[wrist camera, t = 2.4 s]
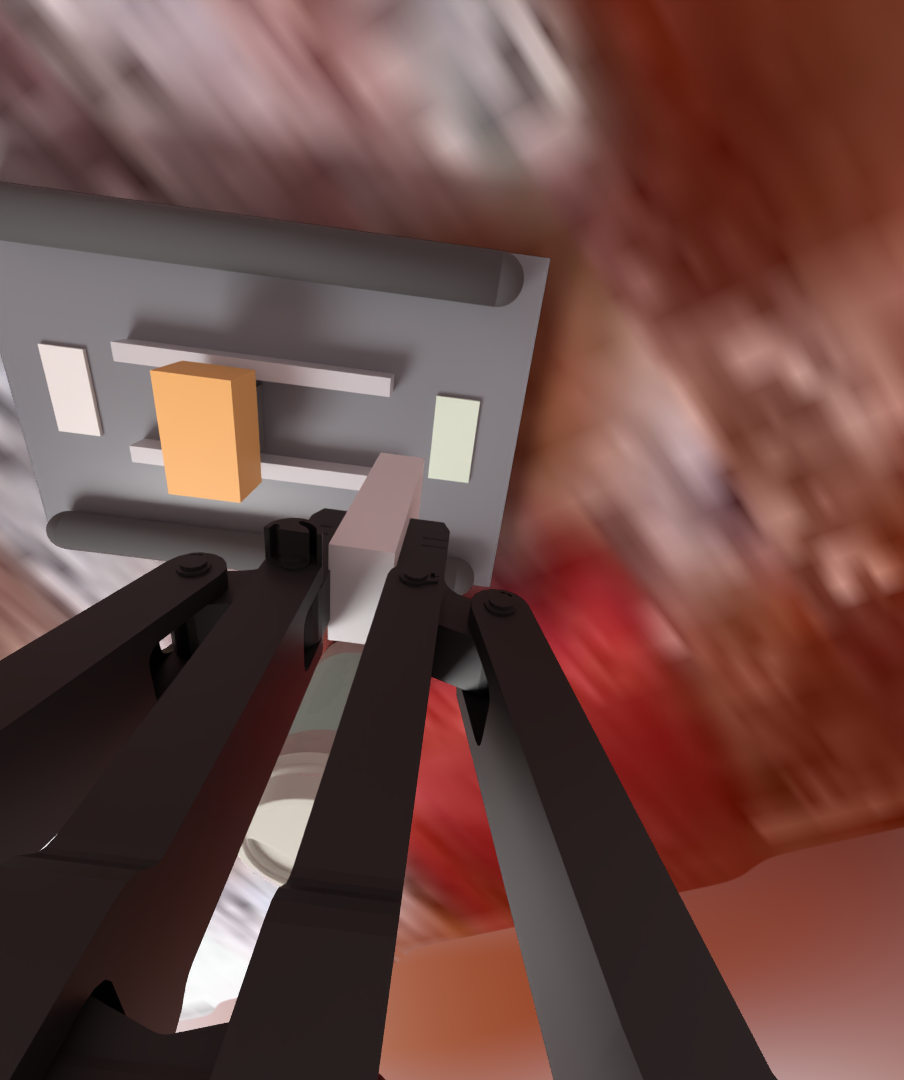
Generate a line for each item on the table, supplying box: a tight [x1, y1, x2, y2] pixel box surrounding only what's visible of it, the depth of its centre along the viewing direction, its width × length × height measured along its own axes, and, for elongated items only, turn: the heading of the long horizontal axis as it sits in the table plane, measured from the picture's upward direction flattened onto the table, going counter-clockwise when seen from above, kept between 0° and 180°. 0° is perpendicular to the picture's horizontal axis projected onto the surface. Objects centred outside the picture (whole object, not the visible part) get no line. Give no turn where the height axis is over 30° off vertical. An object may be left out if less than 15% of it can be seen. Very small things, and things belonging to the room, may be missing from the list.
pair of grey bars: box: [0, 182, 524, 595], centre depth 23 cm, size 22×16×2 cm
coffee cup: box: [238, 641, 365, 887], centre depth 29 cm, size 8×8×12 cm
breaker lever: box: [150, 361, 266, 503], centre depth 22 cm, size 3×5×4 cm, turn 173°
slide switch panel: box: [0, 240, 550, 587], centre depth 24 cm, size 24×16×3 cm, turn 83°
